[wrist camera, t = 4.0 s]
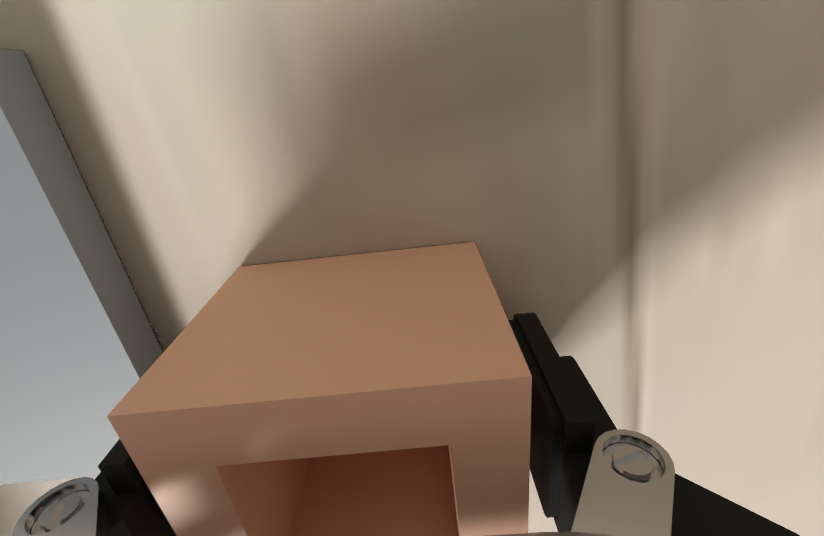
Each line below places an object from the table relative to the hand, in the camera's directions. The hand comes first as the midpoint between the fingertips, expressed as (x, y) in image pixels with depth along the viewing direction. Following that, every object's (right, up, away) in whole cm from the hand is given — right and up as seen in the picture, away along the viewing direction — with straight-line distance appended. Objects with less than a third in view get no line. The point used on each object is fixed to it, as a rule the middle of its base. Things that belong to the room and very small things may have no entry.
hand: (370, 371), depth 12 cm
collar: (0, 0, +1) cm, 1 cm away
